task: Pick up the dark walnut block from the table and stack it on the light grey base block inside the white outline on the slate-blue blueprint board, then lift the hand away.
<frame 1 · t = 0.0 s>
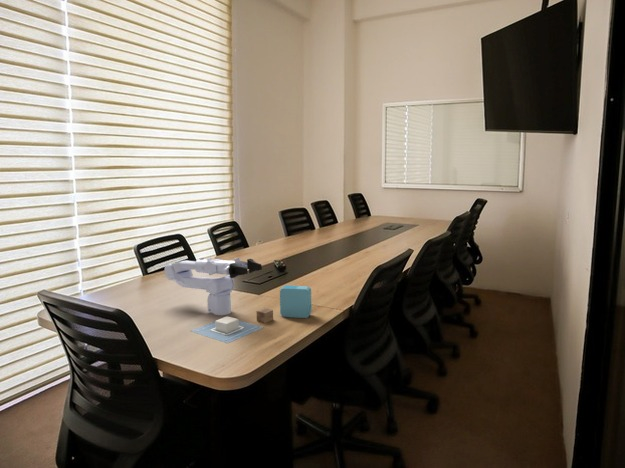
hand: (254, 269, 169), 22 cm above the table, tool horizontal, fingers open, 7 cm apart
walnut block: (265, 322, 174), on the table
blueprint board: (227, 331, 165), on the table
data package: (296, 316, 181), on the table
base block: (227, 329, 165), resting on blueprint board
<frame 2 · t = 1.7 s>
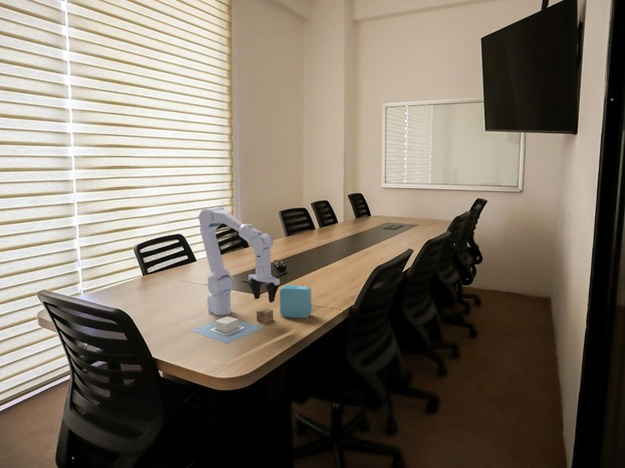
hand: (264, 300, 172), 9 cm above the table, tool pointing down, fingers open, 7 cm apart
nothing on the table moved.
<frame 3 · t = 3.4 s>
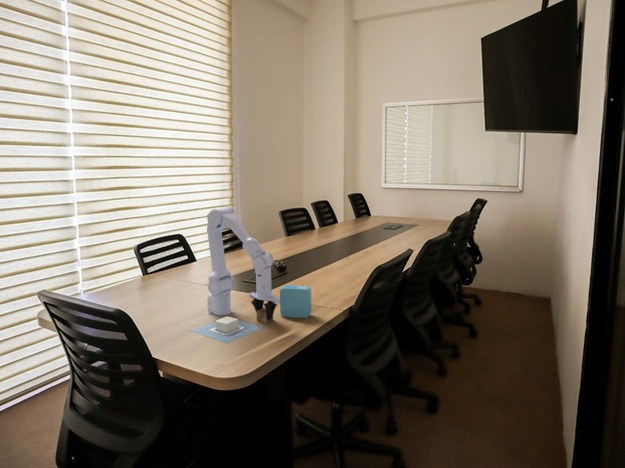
hand: (265, 318, 173), 2 cm above the table, tool pointing down, fingers closed on walnut block, 4 cm apart
walnut block: (265, 322, 174), on the table, touching gripper
everything else where it was.
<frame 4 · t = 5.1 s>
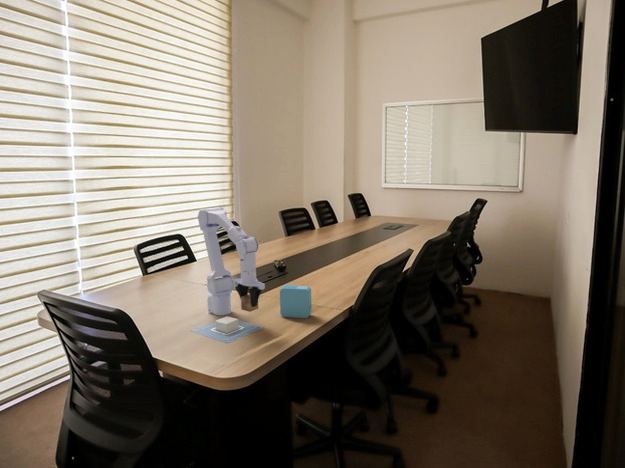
hand: (249, 304, 169), 8 cm above the table, tool pointing down, fingers closed on walnut block, 4 cm apart
walnut block: (249, 309, 169), point 7 cm above the table, touching gripper
everything else where it was.
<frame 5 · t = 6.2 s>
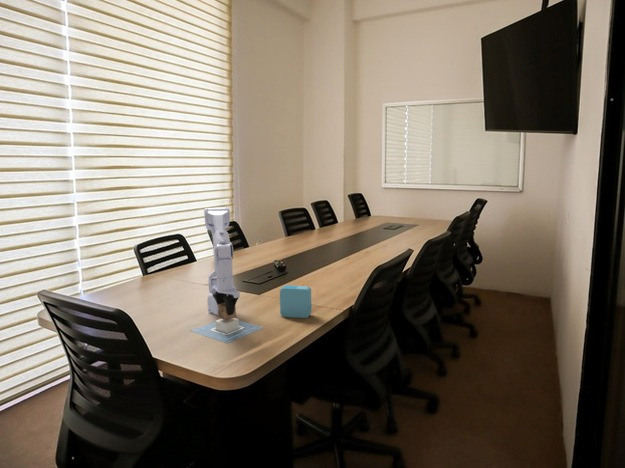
hand: (226, 313, 164), 7 cm above the table, tool pointing down, fingers closed on walnut block, 4 cm apart
walnut block: (227, 317, 164), point 6 cm above the table, touching gripper
everything else where it was.
when the fingers open (7 cm above the table, at t = 6.9 s): walnut block drops 1 cm, resting on base block.
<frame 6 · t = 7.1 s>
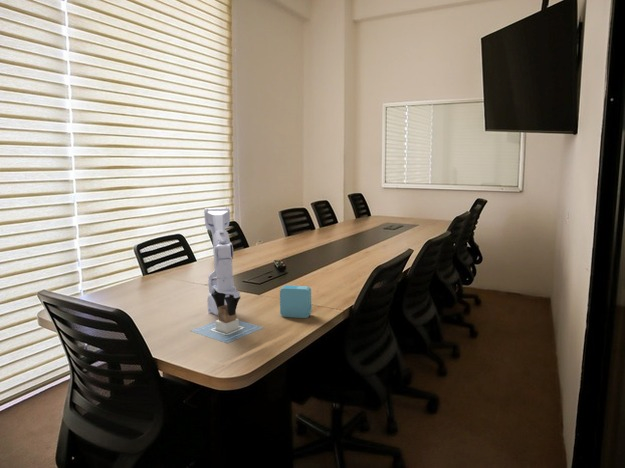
hand: (226, 312, 164), 7 cm above the table, tool pointing down, fingers open, 6 cm apart
walnut block: (227, 319, 164), point 4 cm above the table, touching base block
everything else where it was.
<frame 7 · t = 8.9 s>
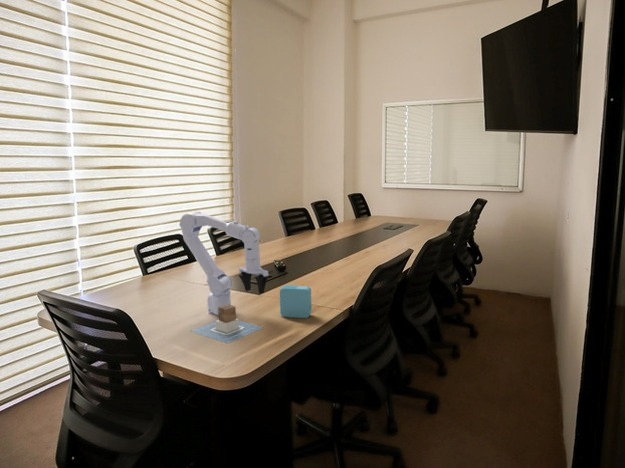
hand: (254, 291, 179), 10 cm above the table, tool pointing down, fingers open, 7 cm apart
nothing on the table moved.
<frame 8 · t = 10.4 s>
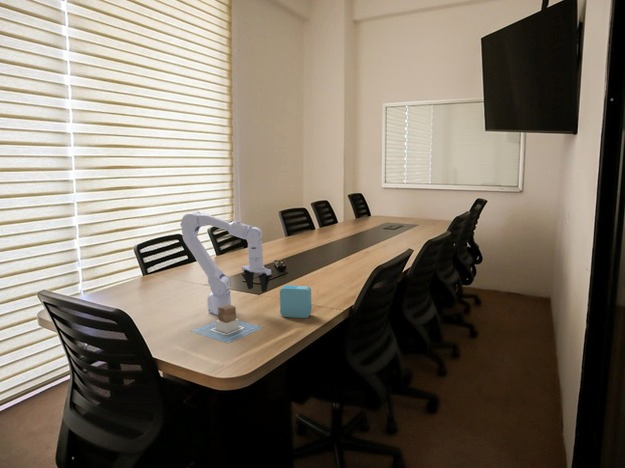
hand: (257, 290, 181), 10 cm above the table, tool pointing down, fingers open, 7 cm apart
nothing on the table moved.
at the end: walnut block 0.2 cm off-centre on the base block, point 3.5 cm above the base block's base; walnut block tilted 0°; the gripper is holding nothing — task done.
